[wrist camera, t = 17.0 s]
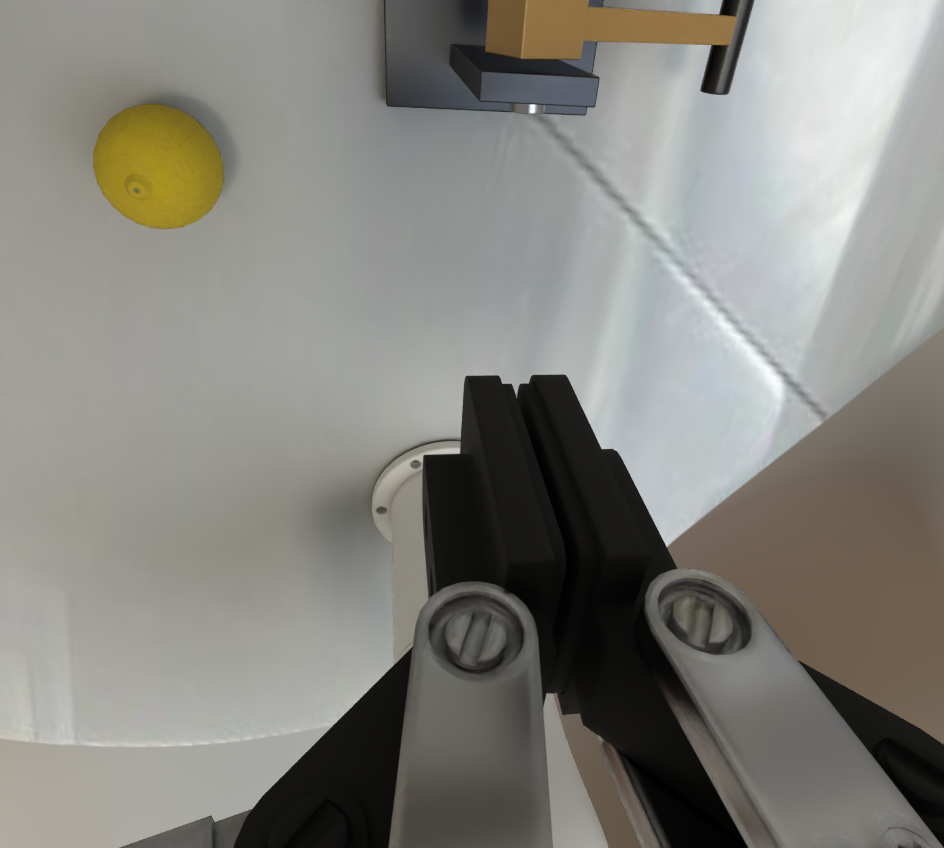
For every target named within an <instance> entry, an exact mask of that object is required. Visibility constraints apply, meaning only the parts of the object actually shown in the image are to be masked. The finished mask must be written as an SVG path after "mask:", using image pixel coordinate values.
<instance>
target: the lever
mask: <svg viewBox="0 0 944 848" xmlns="http://www.w3.org/2000/svg"><path fill="white" fill-rule="evenodd" d="M588 4H589V0H488V15H487V31H486V47H485V51H486V52H489V53H494V54H499V55H504V56H509V57H514V58H518V59H558V60H579V59H581V53H582V46H583V41H596V42H629V43H662V44H695V45H711V49H710V53H709V57H708V61H707V65H706V69H705V73H704V77H703V81H702V85H701V89H700V90H701V92H703V93H708V94H716V95H727V94H728V93H729V91H730V88H731V84H732V80H733V77H734V73H735V69H736V66H737V62H738V58H739V55H740V51H741V48H742V44H743V40H744V37H745V33H746V29H747V26H748V22H749V18H750V15H751V11H752V8H753V4H754V0H723V1H722V5H721V9H720V13H719V15H717V14H702V13H687V12H672V11H656V10H641V9H626V8H611V7H595V6H588Z"/></svg>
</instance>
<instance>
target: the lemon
mask: <svg viewBox="0 0 944 848" xmlns="http://www.w3.org/2000/svg"><path fill="white" fill-rule="evenodd" d="M93 167H94V171H95V175H96V179H97V183H98V185H99V187H100V189H101V191H102V193H103V195H104V196H105V197H106V198H107V200H108V201H109V202H110V203H111V205H112V206H113V207H114V208H115V209H117V210H118V211H119V212H120V213H121V214H122V215H124V216H125V217H127V218H129V219H130V220H132V221H134V222H136V223H138V224H141V225H144V226H147V227H150V228H158V229H172V228H180V227H184V226H186V225H188V224H191V223H193V222H196V221H198V220H199V219H201V218H202V217H203V216H204V215H205V214H207V213H208V212H209V211H210V210H211V209H212V207H213V206H214V204H215V203H216V201H217V199H218V198H219V196H220V192H221V189H222V185H223V181H224V174H223V163H222V159H221V155H220V151H219V149H218V147H217V145H216V143H215V141H214V139H213V138H212V137H211V135H210V134H209V133H208V132H207V130H206V129H205V128H204V127H203V126H202V125H201V124H200V123H198V122H197V121H196V120H195V119H194V118H193V117H191V116H189V115H187V114H186V113H184V112H182V111H180V110H178V109H175V108H172V107H168V106H165V105H160V104H142V105H138V106H134V107H130V108H127V109H124V110H123V111H121V112H120V113H118V114H117V115H115V116H114V117H112V118H111V119H110V120H109V121H108V123H107V124H106V125H105V127H104V128H103V129H102V131H101V132H100V134H99V136H98V139H97V142H96V145H95V148H94V154H93Z"/></svg>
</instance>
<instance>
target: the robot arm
mask: <svg viewBox="0 0 944 848" xmlns="http://www.w3.org/2000/svg"><path fill="white" fill-rule="evenodd" d="M372 514H373V518H374V522H375V524H376V526H377V528H378V530H379V531H380V533H381V534H382V535H383V536H384V537H385V538H386V539H387V540H388V541H389V542H390V543H392V582H393V636H394V666H393V667H392V668H391V669H390V670H389V671H388V672H387V673H386V674H385V675H384V676H383V677H382V678H381V679H380V680H379V681H378V682H377V683H376V684H375V685H374V686H373V687H372V688H371V689H370V690H369V691H368V692H367V693H366V694H365V695H364V696H363V697H362V698H361V699H360V700H359V701H358V702H357V703H356V704H355V705H354V706H353V707H352V708H351V709H350V710H349V711H348V712H347V713H345V714H344V715H343V716H342V717H341V718H340V719H339V720H338V721H337V722H336V723H335V724H334V725H333V726H332V728H330V729H329V731H327V733H325V734H324V735H323V736H322V737H321V738H320V739H319V740H318V742H316V743H315V744H314V746H312V748H311V749H310V750H308V752H306V753H305V754H304V755H303V756H302V757H301V758H300V759H299V760H298V761H297V763H295V764H294V765H293V766H292V767H291V769H289V771H288V772H286V774H284V776H283V777H282V778H280V779H279V781H277V783H275V784H274V785H273V786H272V787H271V788H270V789H269V790H268V791H267V792H266V793H265V794H264V795H263V796H262V798H261V799H260V800H259V802H258V803H257V804H256V805H255V807H254V808H253V809H251V810H248V811H245V812H242V813H240V814H237V815H234V816H231V817H228V818H226V819H223V820H220V821H217V822H214V820H213V818H212V816H209V817H206V818H203V819H200V820H197V821H194V822H191V823H188V824H186V825H183V826H180V827H177V828H174V829H172V830H169V831H166V832H163V833H160V834H157V835H154V836H152V837H149V838H146V839H143V840H140V841H137V842H134V843H131V844H129V845H126V846H123V847H120V848H609V847H608V844H607V842H606V839H605V836H604V833H603V830H602V828H601V825H600V823H599V820H598V818H597V815H596V813H595V810H594V808H593V806H592V803H591V801H590V798H589V796H588V794H587V791H586V789H585V786H584V784H583V781H582V779H581V776H580V774H579V771H578V769H577V767H576V764H575V762H574V759H573V756H572V754H571V751H570V748H569V746H568V743H567V740H566V737H565V734H564V731H563V727H562V724H561V721H560V717H559V714H558V711H557V708H556V704H555V700H554V697H553V693H557V695H558V699H559V703H560V707H561V711H562V714H563V715H566V714H578V713H580V715H581V719H582V722H583V725H584V726H586V727H587V728H589V729H590V730H591V731H593V732H594V733H595V734H597V735H598V742H599V746H600V750H601V753H602V756H603V759H604V761H605V763H606V766H607V768H608V770H609V773H610V775H611V777H612V780H613V782H614V784H615V787H616V789H617V791H618V793H619V796H620V798H621V800H622V803H623V805H624V807H625V809H626V812H627V814H628V817H629V819H630V821H631V823H632V826H633V828H634V830H635V833H636V835H637V837H638V839H639V842H640V844H641V846H642V848H944V743H943V744H942V743H940V742H939V741H937V740H936V739H934V738H933V737H931V736H930V735H929V734H927V733H926V732H924V731H923V730H921V729H920V728H918V727H916V726H914V725H913V724H911V723H909V722H907V721H906V720H904V719H902V718H900V717H898V716H897V715H895V714H893V713H891V712H889V711H888V710H886V709H884V708H882V707H881V706H879V705H877V704H875V703H873V702H872V701H870V700H868V699H866V698H864V697H863V696H861V695H859V694H857V693H856V692H854V691H852V690H850V689H848V688H847V687H845V686H843V685H841V684H839V683H838V682H836V681H834V680H832V679H831V678H829V677H827V676H825V675H824V674H822V673H820V672H818V671H816V670H815V669H813V668H811V667H809V666H807V665H806V664H804V663H802V662H800V661H799V660H797V659H796V658H795V656H794V655H793V654H792V652H791V651H790V650H789V648H788V647H787V646H786V645H785V643H784V642H783V641H782V640H781V638H780V637H779V636H778V635H777V633H776V632H775V630H774V629H773V628H772V627H771V625H770V624H769V623H768V622H767V620H766V619H765V618H764V616H763V615H762V614H761V612H760V611H759V610H758V609H757V607H756V606H755V605H754V604H753V602H752V601H750V599H748V597H747V596H746V595H745V594H744V593H743V592H742V591H741V590H740V589H738V588H737V587H735V586H734V585H732V584H731V583H729V582H728V581H726V580H725V579H723V578H720V577H718V576H715V575H713V574H711V573H708V572H704V571H699V570H694V569H677V567H676V565H675V563H674V561H673V559H672V557H671V555H670V553H669V551H668V549H667V547H666V545H665V543H664V541H663V539H662V537H661V535H660V533H659V531H658V529H657V527H656V525H655V523H654V521H653V519H652V517H651V516H650V514H649V512H648V510H647V508H646V506H645V504H644V502H643V500H642V498H641V496H640V494H639V492H638V490H637V488H636V486H635V484H634V482H633V480H632V478H631V476H630V474H629V472H628V470H627V468H626V466H625V464H624V462H623V460H622V458H621V457H620V455H619V454H618V452H617V451H615V450H613V449H601V447H600V445H599V443H598V441H597V439H596V436H595V434H594V432H593V430H592V428H591V426H590V424H589V422H588V420H587V417H586V415H585V413H584V411H583V409H582V407H581V405H580V403H579V401H578V398H577V396H576V394H575V392H574V390H573V388H572V386H571V384H570V382H569V379H568V378H567V376H566V375H532V376H531V379H530V381H529V384H520V385H519V388H518V394H517V398H516V395H515V392H514V389H513V386H512V384H502V382H501V379H500V377H499V376H466V377H465V382H464V395H463V412H462V428H461V441H445V442H436V443H432V444H428V445H424V446H420V447H418V448H416V449H413V450H411V451H409V452H406V453H405V454H403V455H402V456H400V457H399V458H397V459H396V460H394V461H393V462H392V463H391V464H390V465H389V466H388V467H387V468H386V469H385V470H384V471H383V473H382V474H381V475H380V477H379V478H378V480H377V482H376V485H375V487H374V490H373V496H372Z"/></svg>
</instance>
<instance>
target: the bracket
mask: <svg viewBox="0 0 944 848" xmlns="http://www.w3.org/2000/svg"><path fill="white" fill-rule="evenodd" d="M603 1H604V0H589V4H588V6H595V7H603ZM487 15H488V0H384V23H385V69H386V105H387V106H390V107H412V108H433V109H455V110H476V111H498V112H515V113H520V114H532V115H536V114H562V115H584V116H585V115H586V111H587V107H595V103H596V97H597V91H598V85H599V77H598V76H595V75H593V74H592V72H593V66H594V59H595V53H596V46H597V42H596V41H583V46H582V53H581V59H579V60H558V59H518V58H514V57H509V56H504V55H499V54H494V53H489V52H486V51H485V47H486V31H487Z"/></svg>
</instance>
